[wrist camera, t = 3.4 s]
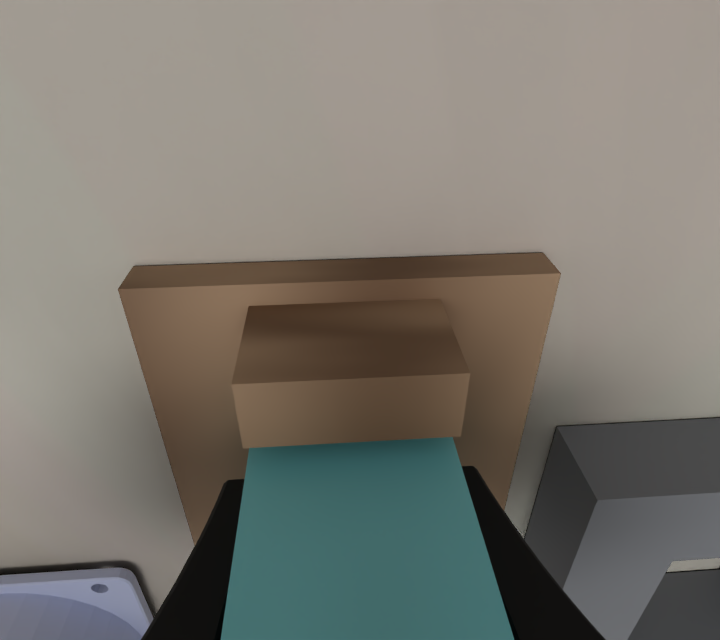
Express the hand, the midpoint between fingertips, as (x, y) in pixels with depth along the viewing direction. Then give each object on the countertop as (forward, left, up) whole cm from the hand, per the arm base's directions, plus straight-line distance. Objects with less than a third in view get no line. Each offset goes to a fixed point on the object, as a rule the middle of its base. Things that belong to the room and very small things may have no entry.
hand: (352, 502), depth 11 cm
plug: (0, 0, -2) cm, 2 cm away
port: (+11, -7, -3) cm, 14 cm away
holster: (0, 0, -3) cm, 3 cm away
